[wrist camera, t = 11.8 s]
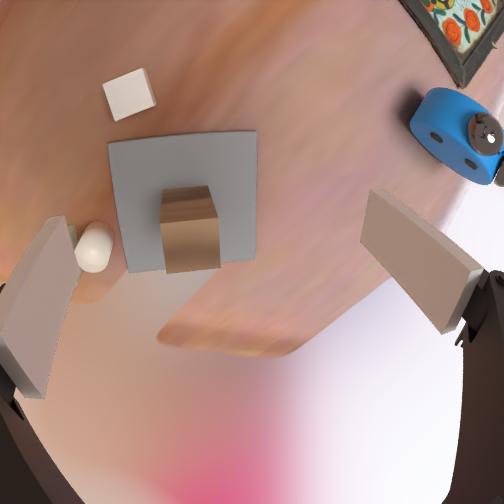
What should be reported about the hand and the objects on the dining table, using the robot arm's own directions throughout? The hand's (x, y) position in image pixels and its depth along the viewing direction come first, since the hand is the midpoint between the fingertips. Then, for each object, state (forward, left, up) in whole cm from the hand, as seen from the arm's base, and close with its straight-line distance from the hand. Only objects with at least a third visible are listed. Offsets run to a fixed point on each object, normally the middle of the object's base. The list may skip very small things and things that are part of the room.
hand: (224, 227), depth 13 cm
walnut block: (+8, -1, -22) cm, 23 cm away
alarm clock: (-2, +32, -23) cm, 40 cm away
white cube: (-5, -6, -23) cm, 25 cm away
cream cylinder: (+11, -12, -23) cm, 28 cm away
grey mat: (+8, -1, -23) cm, 24 cm away
